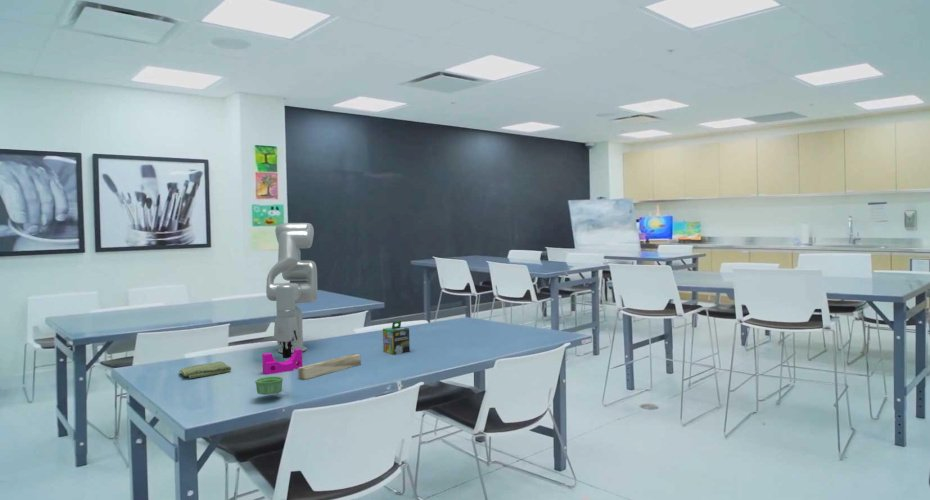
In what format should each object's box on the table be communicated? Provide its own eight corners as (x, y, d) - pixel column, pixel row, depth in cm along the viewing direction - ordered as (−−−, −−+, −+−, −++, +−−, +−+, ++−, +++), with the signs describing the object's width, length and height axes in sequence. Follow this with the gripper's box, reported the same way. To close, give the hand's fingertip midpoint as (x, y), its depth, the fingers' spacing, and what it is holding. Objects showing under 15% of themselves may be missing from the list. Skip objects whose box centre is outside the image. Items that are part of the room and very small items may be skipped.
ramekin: (266, 388, 202) (266, 375, 202) (288, 389, 199) (288, 376, 199) (249, 394, 193) (249, 381, 193) (272, 396, 190) (272, 382, 190)
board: (298, 378, 215) (297, 367, 214) (353, 363, 240) (353, 353, 240) (305, 379, 212) (305, 369, 212) (360, 364, 238) (360, 354, 238)
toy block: (267, 374, 223) (267, 355, 223) (262, 372, 228) (262, 353, 228) (304, 369, 232) (304, 350, 232) (299, 366, 237) (298, 348, 237)
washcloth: (177, 374, 229) (177, 366, 229) (223, 367, 240) (223, 360, 240) (184, 380, 218) (184, 371, 218) (232, 372, 229) (232, 364, 229)
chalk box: (399, 350, 267) (398, 319, 267) (410, 353, 260) (409, 320, 260) (382, 353, 261) (381, 321, 261) (393, 356, 254) (392, 322, 254)
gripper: (266, 314, 240) (268, 357, 240) (291, 316, 232) (292, 360, 232) (281, 312, 247) (282, 354, 247) (305, 313, 239) (306, 357, 239)
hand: (287, 357), depth 240 cm, fingers closed
